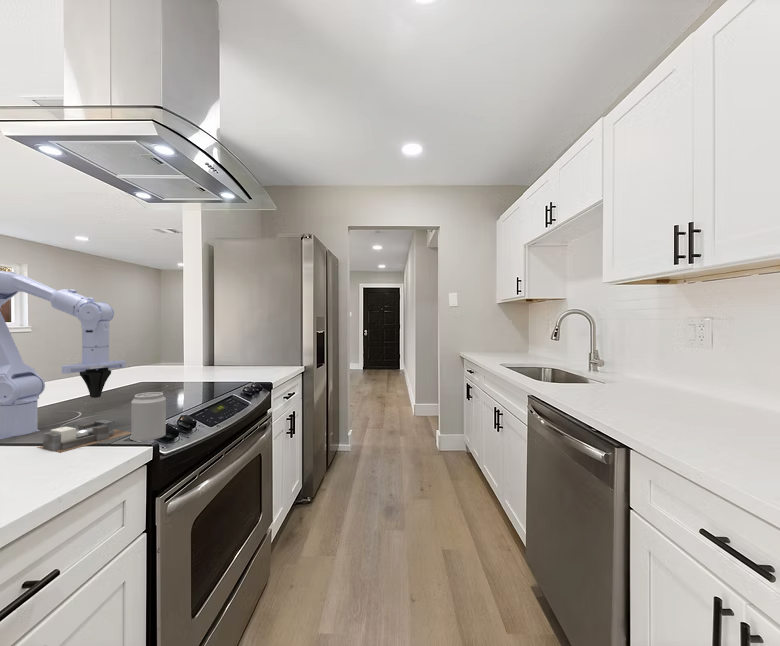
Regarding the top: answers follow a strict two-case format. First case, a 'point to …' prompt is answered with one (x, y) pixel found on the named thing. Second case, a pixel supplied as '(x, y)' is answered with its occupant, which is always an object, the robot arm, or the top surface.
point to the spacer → (65, 433)
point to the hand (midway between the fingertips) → (95, 397)
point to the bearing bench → (98, 435)
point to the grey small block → (97, 423)
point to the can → (148, 416)
